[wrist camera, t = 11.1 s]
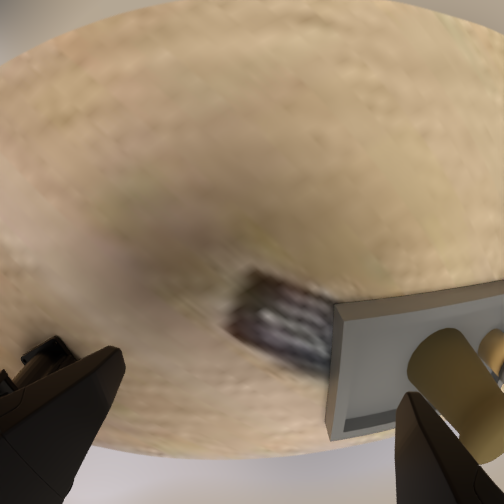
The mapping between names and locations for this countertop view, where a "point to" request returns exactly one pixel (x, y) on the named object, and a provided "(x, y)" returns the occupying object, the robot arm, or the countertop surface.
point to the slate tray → (396, 350)
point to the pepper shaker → (461, 391)
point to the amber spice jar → (493, 352)
